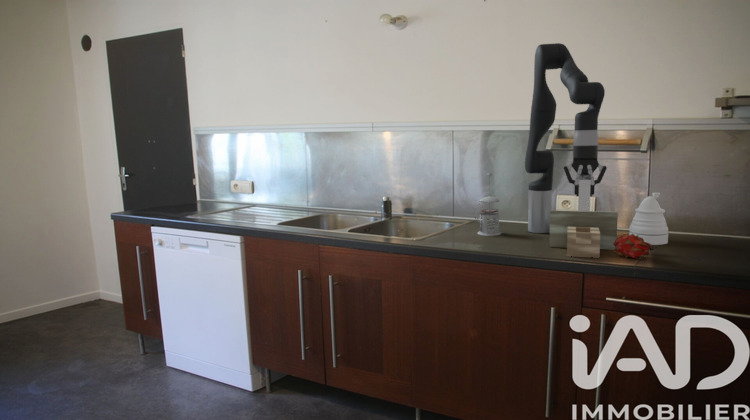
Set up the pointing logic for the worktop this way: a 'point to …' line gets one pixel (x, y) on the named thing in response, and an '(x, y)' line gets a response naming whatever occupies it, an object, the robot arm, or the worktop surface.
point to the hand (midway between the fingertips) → (584, 195)
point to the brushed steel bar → (584, 192)
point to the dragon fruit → (632, 246)
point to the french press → (488, 216)
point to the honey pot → (650, 222)
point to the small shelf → (583, 232)
